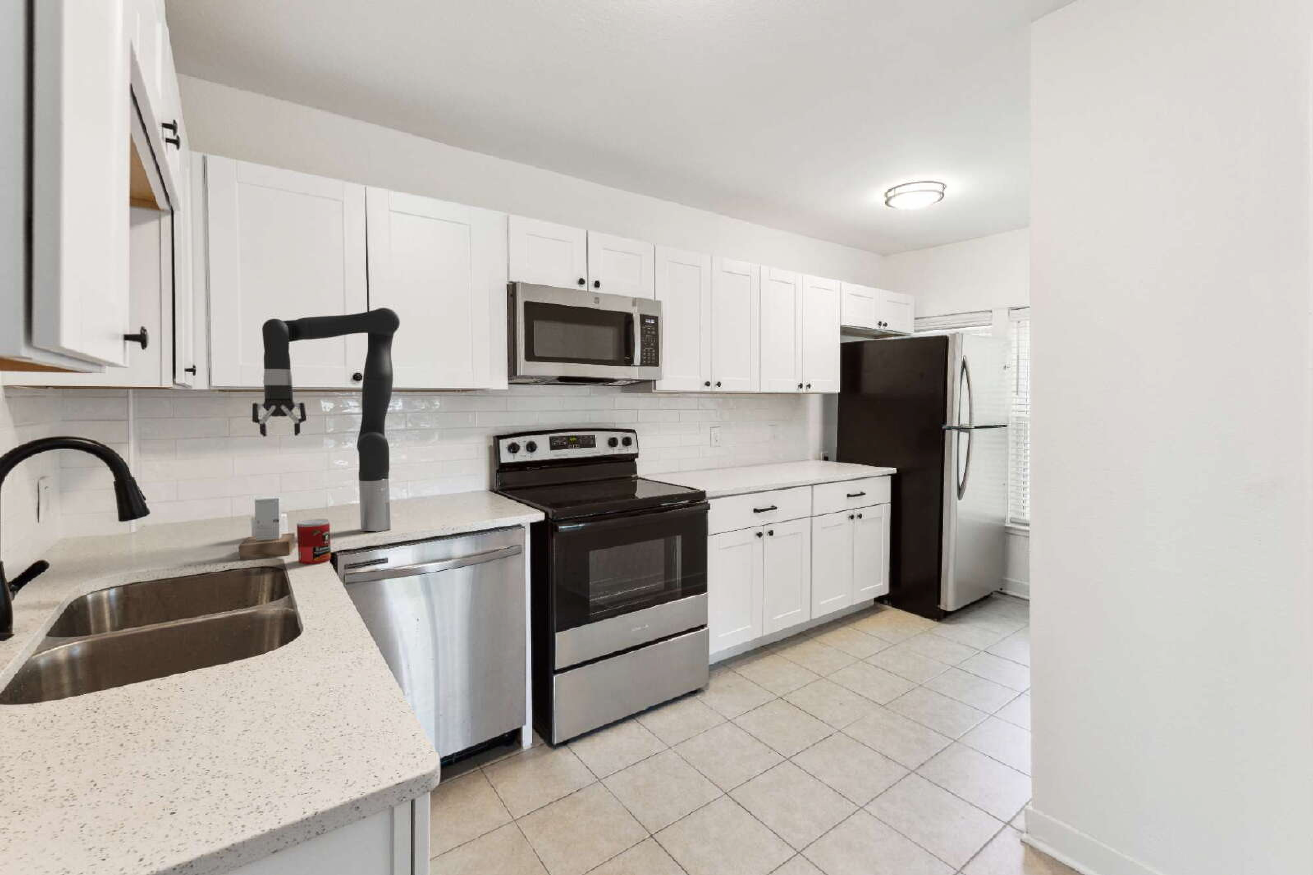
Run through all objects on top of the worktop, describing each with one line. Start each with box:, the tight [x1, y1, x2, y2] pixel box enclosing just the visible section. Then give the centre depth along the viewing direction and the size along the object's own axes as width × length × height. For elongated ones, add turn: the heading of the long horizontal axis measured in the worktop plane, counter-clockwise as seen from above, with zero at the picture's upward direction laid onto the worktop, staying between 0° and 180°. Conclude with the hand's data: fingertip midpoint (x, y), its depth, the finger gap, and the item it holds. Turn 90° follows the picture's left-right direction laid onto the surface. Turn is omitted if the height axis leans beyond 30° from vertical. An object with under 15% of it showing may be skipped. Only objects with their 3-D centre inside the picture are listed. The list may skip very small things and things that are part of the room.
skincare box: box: [254, 495, 282, 541], centre depth 174 cm, size 6×4×12 cm
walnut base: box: [238, 532, 296, 561], centre depth 174 cm, size 12×12×4 cm
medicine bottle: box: [250, 513, 289, 537], centre depth 194 cm, size 7×7×12 cm
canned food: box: [296, 518, 332, 566], centre depth 164 cm, size 8×8×11 cm
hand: (280, 435), depth 189 cm, fingers open, 8 cm apart
